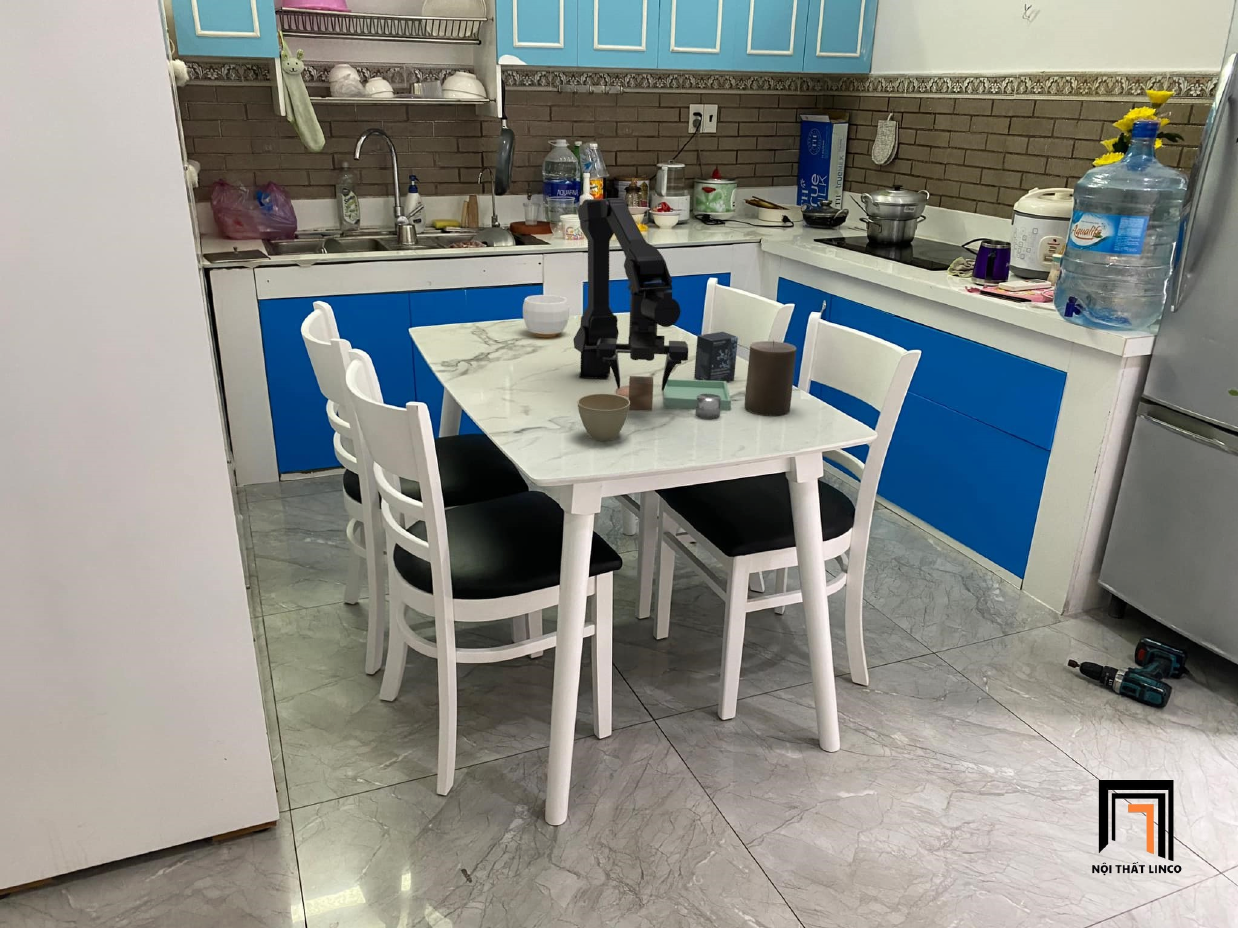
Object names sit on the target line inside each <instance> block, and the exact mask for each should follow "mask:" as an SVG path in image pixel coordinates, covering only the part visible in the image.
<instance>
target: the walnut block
mask: <svg viewBox="0 0 1238 928" xmlns="http://www.w3.org/2000/svg"><path fill="white" fill-rule="evenodd" d="M628 386H629V397H628V399H629V401H630V407H629V411H637V412H641V411H642V412H653V402H654V401H653V400H654V399H653V397H654V376H639V375H638V376H637V375H630V376H629V379H628Z"/></svg>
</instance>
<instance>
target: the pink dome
mask: <svg viewBox="0 0 1238 928" xmlns="http://www.w3.org/2000/svg"><path fill="white" fill-rule="evenodd" d="M615 393H616V395H620V396H623V397H626V398H629V385H623V386H620V389H618V387H617V388H616V389H615Z"/></svg>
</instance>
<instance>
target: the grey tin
mask: <svg viewBox="0 0 1238 928" xmlns="http://www.w3.org/2000/svg"><path fill="white" fill-rule="evenodd" d="M720 406H721V397H720V396H718V395H714V394H700V395H698V396H697V401H696V409H695V418H698V419H702V420H709V421H711V420H717V419H719V418H720V417H721V410H720Z"/></svg>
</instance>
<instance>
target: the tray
mask: <svg viewBox="0 0 1238 928" xmlns="http://www.w3.org/2000/svg"><path fill="white" fill-rule="evenodd" d="M662 391H663V390H662ZM700 394H714V395H718V396H720V397H721V406H720V411H731V407H732V399H731V396H730V391H729V388H728V383H727V381H705V380H697V379H675V378H674V379H673V378H671V379H670V378H668V381H667V383H666V386H665V388H664V391H663V393H662V395H663V408H665V409H688V410H689V409H691V410H692V409H693V410H696V401H697V396H698V395H700Z"/></svg>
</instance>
